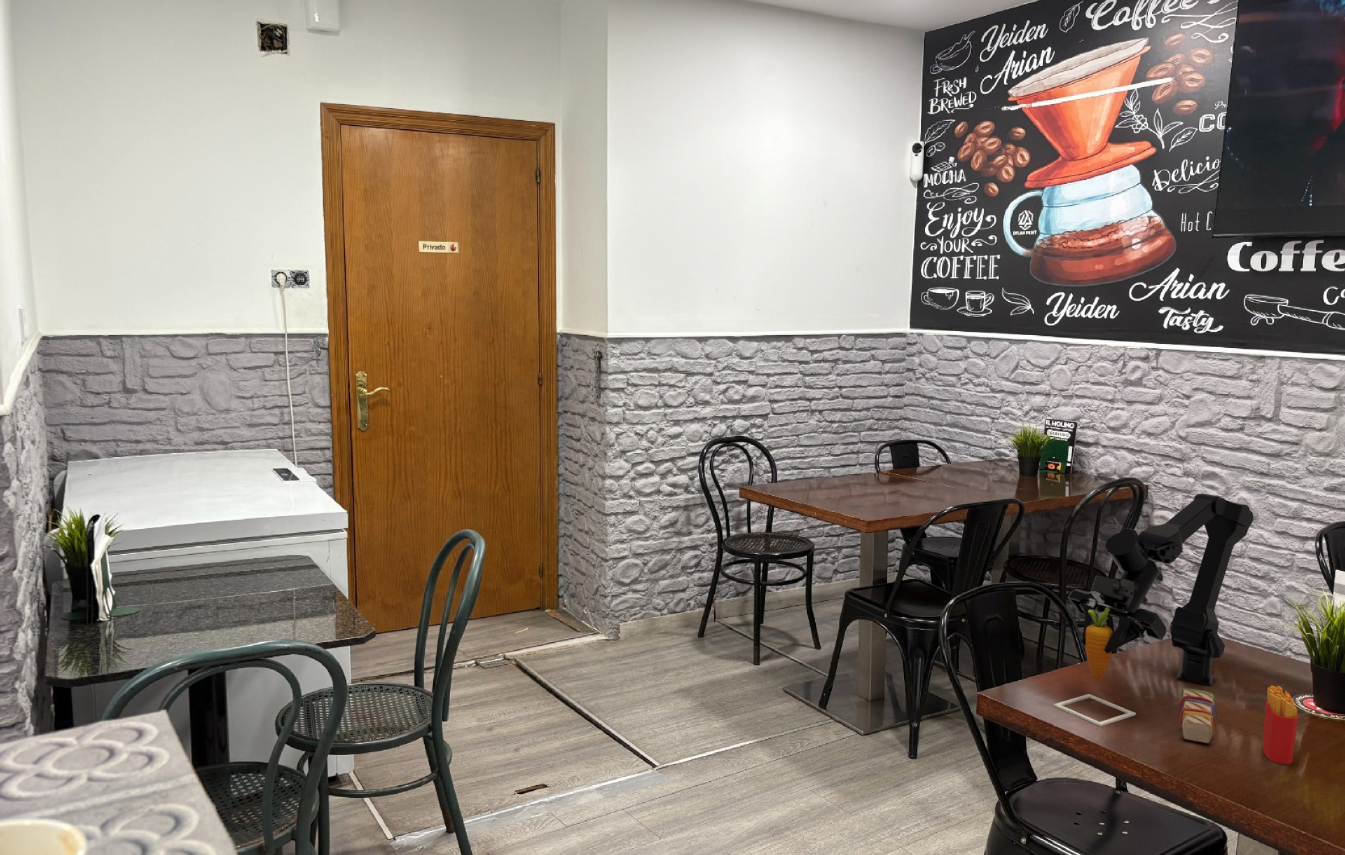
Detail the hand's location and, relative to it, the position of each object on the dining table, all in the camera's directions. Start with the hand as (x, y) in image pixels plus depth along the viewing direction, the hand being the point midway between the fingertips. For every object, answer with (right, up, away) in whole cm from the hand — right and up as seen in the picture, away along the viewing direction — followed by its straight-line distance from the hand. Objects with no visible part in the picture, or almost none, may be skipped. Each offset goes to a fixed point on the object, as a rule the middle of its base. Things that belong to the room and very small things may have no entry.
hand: (1094, 647), depth 188 cm
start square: (+1, -13, +2) cm, 13 cm away
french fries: (+26, -16, -16) cm, 34 cm away
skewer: (+19, -14, -3) cm, 23 cm away
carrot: (+1, -7, +1) cm, 7 cm away
